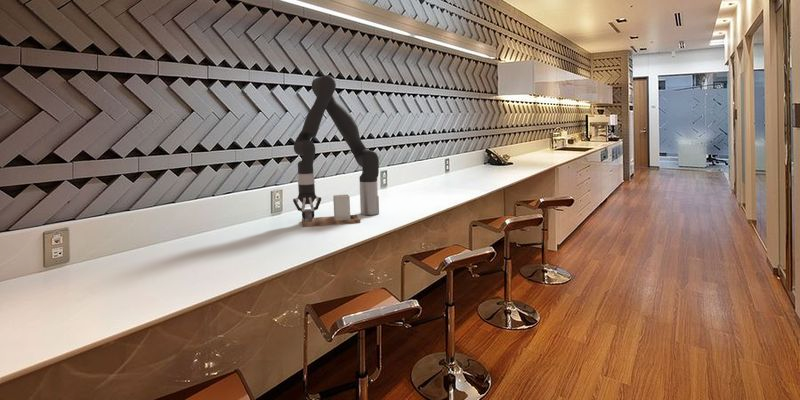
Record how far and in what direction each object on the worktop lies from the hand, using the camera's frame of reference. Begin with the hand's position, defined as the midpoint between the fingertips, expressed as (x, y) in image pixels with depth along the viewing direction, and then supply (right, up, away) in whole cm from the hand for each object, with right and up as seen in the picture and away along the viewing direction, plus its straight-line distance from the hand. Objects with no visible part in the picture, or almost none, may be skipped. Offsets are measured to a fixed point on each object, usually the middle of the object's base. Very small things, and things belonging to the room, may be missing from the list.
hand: (308, 218), depth 210 cm
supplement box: (+16, -2, +5) cm, 16 cm away
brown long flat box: (+10, -2, +3) cm, 11 cm away
